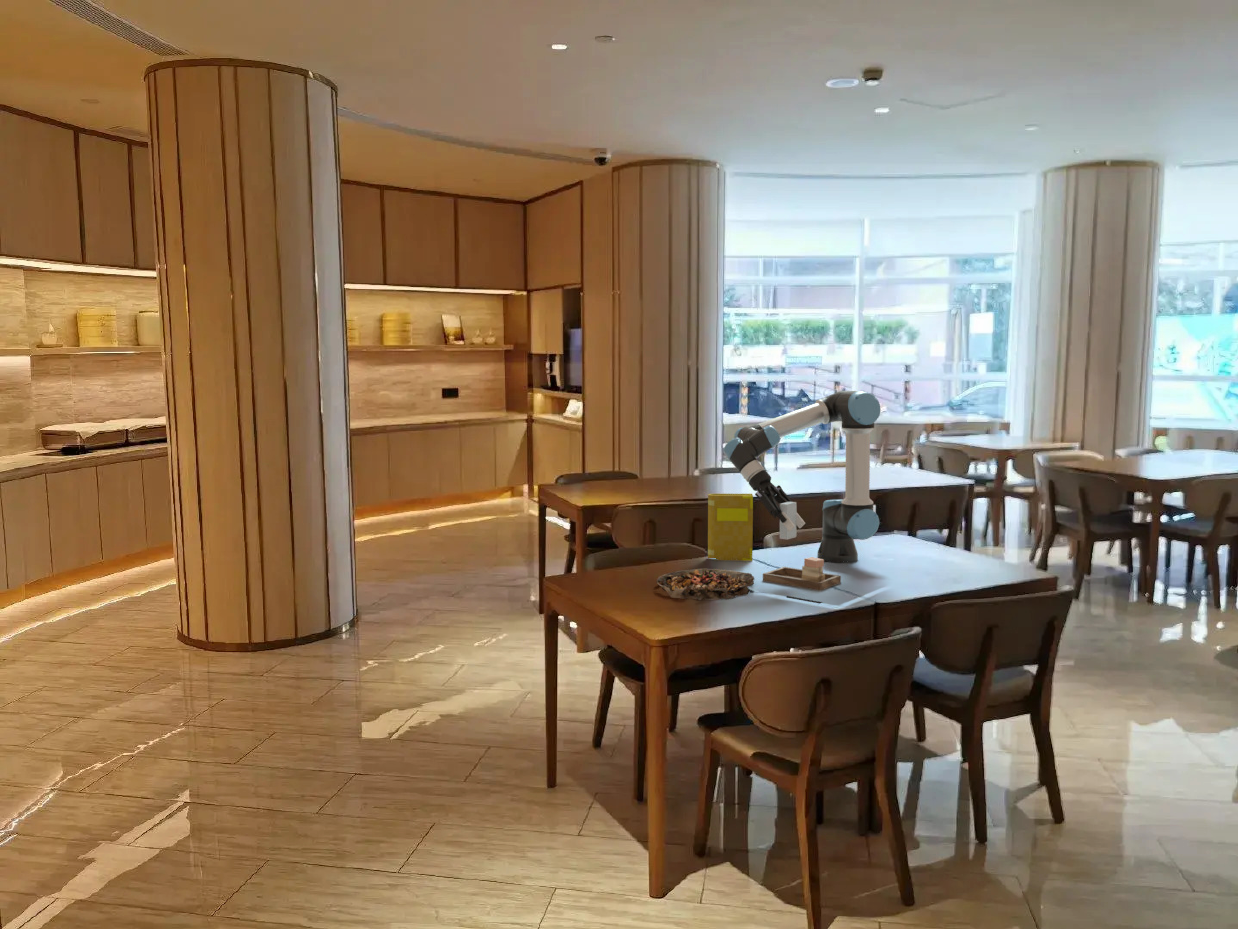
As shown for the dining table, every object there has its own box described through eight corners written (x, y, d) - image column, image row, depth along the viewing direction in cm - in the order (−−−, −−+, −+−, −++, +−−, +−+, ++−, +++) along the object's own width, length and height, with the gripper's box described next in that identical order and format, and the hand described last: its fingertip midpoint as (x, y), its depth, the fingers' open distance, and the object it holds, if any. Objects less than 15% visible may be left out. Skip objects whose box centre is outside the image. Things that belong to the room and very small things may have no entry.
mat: (805, 590, 319) (805, 588, 319) (837, 596, 311) (838, 594, 311) (786, 597, 310) (786, 595, 310) (819, 603, 302) (819, 601, 302)
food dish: (697, 610, 300) (696, 586, 299) (636, 591, 327) (636, 568, 326) (780, 591, 319) (779, 568, 318) (716, 574, 347) (716, 553, 346)
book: (751, 557, 372) (752, 493, 369) (752, 561, 366) (752, 496, 363) (707, 556, 374) (708, 493, 371) (707, 560, 367) (708, 495, 364)
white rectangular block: (788, 535, 331) (788, 501, 330) (796, 536, 329) (796, 502, 328) (779, 538, 327) (779, 503, 325) (787, 539, 325) (787, 504, 323)
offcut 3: (809, 580, 327) (809, 572, 327) (824, 583, 324) (824, 574, 323) (801, 583, 324) (801, 574, 323) (817, 586, 320) (817, 577, 319)
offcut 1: (812, 564, 326) (812, 557, 326) (823, 566, 322) (823, 559, 322) (804, 565, 324) (804, 558, 323) (816, 568, 320) (816, 561, 320)
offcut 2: (807, 572, 327) (807, 564, 326) (822, 574, 324) (822, 565, 323) (802, 575, 323) (802, 566, 323) (817, 577, 320) (818, 568, 320)
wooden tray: (784, 576, 339) (784, 566, 339) (840, 586, 325) (840, 575, 324) (762, 583, 329) (762, 573, 328) (819, 593, 314) (820, 583, 314)
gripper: (764, 480, 343) (804, 530, 334) (734, 486, 329) (775, 538, 320) (777, 466, 339) (818, 516, 330) (747, 472, 325) (789, 524, 316)
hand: (797, 527), depth 325 cm, fingers closed on white rectangular block, 6 cm apart
